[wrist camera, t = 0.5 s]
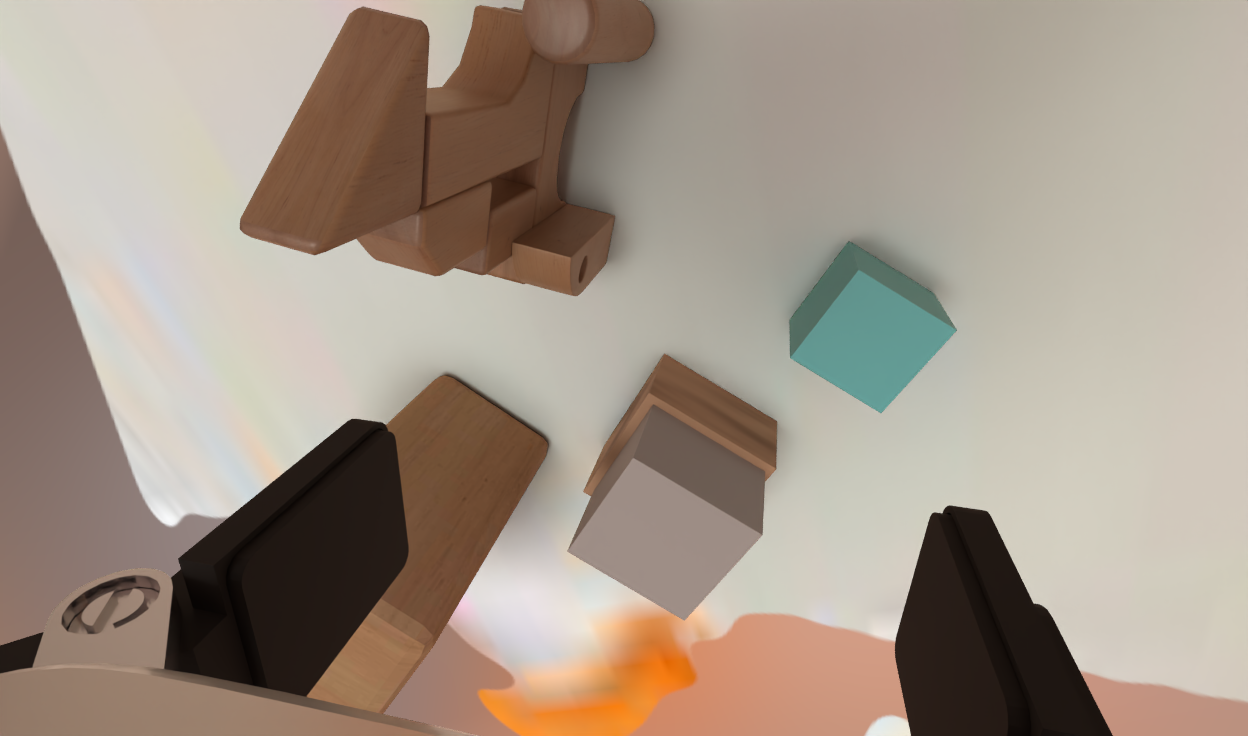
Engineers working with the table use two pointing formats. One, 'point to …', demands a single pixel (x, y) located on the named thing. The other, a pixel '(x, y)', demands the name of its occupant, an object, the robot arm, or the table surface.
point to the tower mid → (672, 514)
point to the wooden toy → (449, 145)
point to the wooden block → (435, 533)
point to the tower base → (695, 418)
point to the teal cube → (867, 328)
